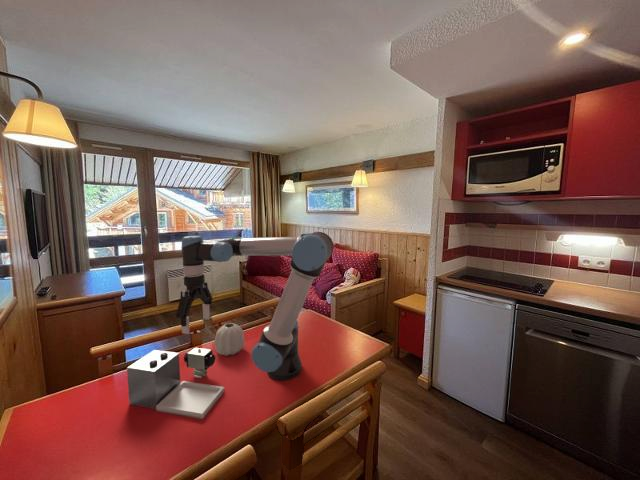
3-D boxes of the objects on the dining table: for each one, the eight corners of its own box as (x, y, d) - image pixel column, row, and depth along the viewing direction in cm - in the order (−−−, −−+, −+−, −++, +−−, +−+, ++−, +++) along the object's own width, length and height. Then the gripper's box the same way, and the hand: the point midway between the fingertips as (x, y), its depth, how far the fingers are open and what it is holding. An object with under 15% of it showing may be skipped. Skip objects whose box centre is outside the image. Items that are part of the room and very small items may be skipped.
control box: (180, 386, 104) (178, 350, 102) (156, 409, 92) (154, 368, 91) (155, 382, 106) (152, 347, 104) (128, 404, 94) (125, 364, 93)
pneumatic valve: (209, 381, 108) (208, 353, 106) (184, 377, 110) (183, 350, 108) (217, 373, 113) (216, 346, 112) (193, 369, 115) (192, 343, 114)
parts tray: (224, 391, 102) (224, 386, 102) (202, 419, 88) (202, 413, 88) (183, 385, 105) (183, 380, 105) (156, 411, 92) (156, 405, 91)
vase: (248, 353, 129) (248, 327, 127) (218, 362, 121) (217, 334, 119) (239, 341, 140) (239, 317, 139) (211, 348, 132) (210, 323, 131)
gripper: (204, 267, 119) (206, 313, 121) (162, 282, 94) (166, 339, 97) (219, 268, 117) (221, 314, 120) (181, 283, 93) (184, 341, 95)
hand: (196, 325), depth 108 cm, fingers open, 13 cm apart
